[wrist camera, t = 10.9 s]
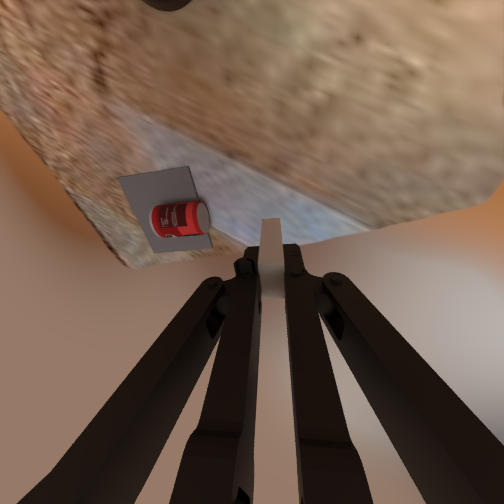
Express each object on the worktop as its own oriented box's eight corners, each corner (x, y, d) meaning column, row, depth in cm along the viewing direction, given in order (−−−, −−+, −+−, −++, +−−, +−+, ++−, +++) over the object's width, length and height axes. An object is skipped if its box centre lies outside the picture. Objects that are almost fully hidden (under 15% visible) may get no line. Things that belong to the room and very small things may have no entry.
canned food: (212, 223, 48) (173, 226, 49) (202, 194, 42) (159, 199, 44) (204, 242, 42) (161, 245, 44) (192, 212, 37) (143, 216, 38)
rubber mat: (118, 177, 44) (117, 177, 43) (188, 166, 41) (187, 166, 40) (155, 252, 54) (154, 253, 54) (212, 247, 52) (212, 248, 51)
